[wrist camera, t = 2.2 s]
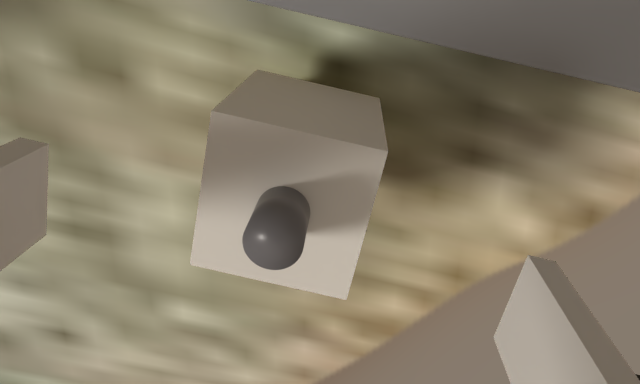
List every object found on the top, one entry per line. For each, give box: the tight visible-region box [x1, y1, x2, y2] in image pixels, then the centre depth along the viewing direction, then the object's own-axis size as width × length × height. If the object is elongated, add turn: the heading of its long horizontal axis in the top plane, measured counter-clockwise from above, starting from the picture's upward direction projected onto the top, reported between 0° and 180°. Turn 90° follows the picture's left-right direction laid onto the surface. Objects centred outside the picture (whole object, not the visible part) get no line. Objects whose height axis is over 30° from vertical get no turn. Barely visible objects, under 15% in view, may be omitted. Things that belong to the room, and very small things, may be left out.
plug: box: [190, 70, 388, 300], centre depth 19 cm, size 5×5×11 cm
